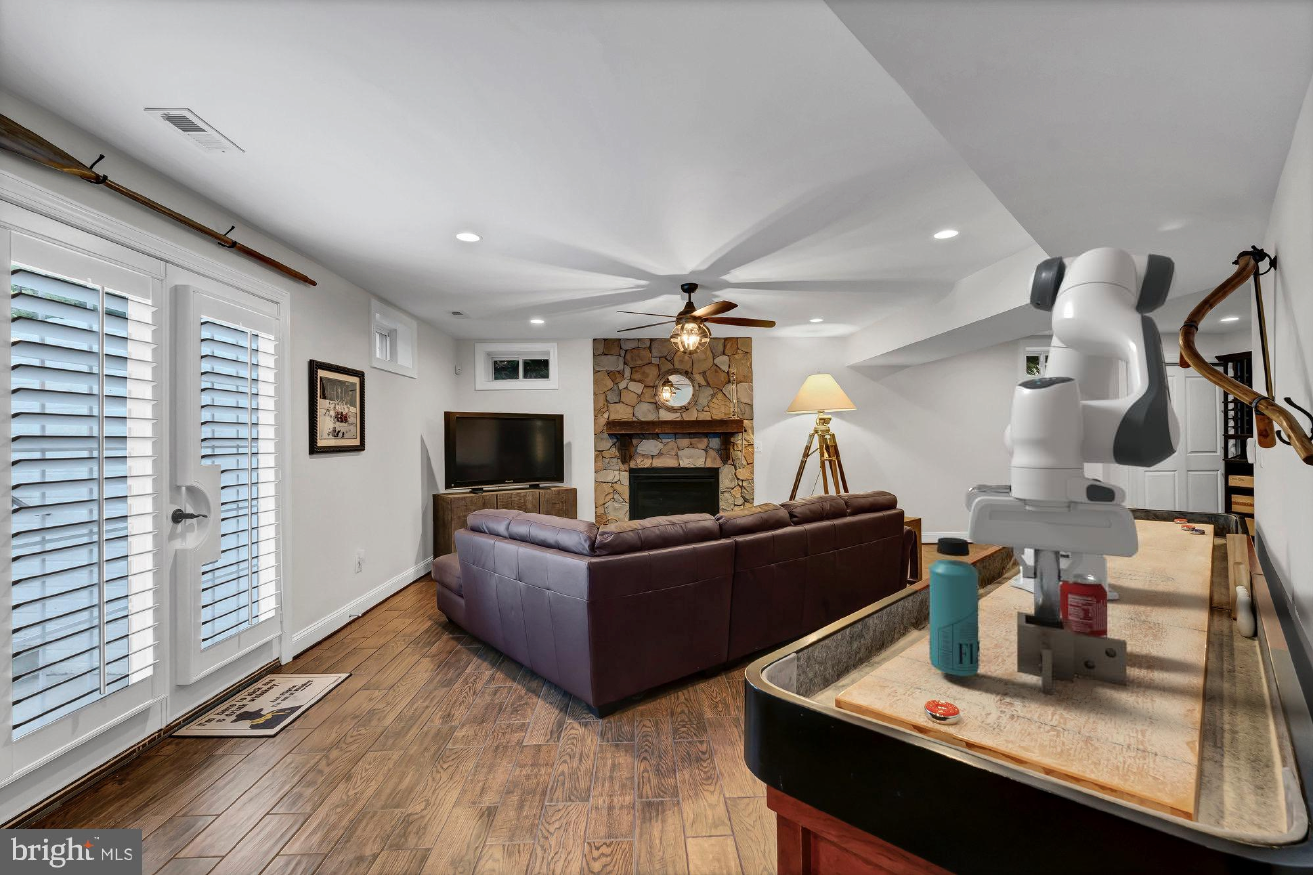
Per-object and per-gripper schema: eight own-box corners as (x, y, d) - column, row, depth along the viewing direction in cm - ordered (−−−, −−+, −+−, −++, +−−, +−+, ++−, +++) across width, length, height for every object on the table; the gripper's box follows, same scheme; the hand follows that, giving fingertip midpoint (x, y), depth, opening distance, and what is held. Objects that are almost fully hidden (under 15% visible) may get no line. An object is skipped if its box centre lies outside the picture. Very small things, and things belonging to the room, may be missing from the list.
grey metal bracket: (1017, 655, 85) (1017, 611, 85) (1122, 675, 78) (1122, 627, 78) (1017, 687, 75) (1017, 637, 74) (1138, 713, 68) (1138, 657, 68)
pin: (1034, 619, 80) (1033, 538, 80) (1033, 613, 82) (1033, 534, 82) (1061, 623, 78) (1060, 540, 78) (1059, 616, 81) (1059, 536, 81)
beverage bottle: (958, 690, 74) (958, 545, 74) (917, 671, 80) (917, 536, 80) (990, 681, 77) (990, 540, 76) (948, 663, 83) (948, 532, 82)
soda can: (1117, 662, 82) (1117, 584, 82) (1067, 659, 84) (1067, 582, 83) (1091, 645, 89) (1091, 572, 89) (1045, 642, 90) (1045, 571, 90)
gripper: (964, 485, 83) (964, 575, 83) (1140, 492, 72) (1141, 595, 72) (966, 482, 88) (967, 566, 88) (1131, 487, 77) (1132, 584, 77)
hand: (1047, 579), depth 80 cm, fingers closed on pin, 3 cm apart
